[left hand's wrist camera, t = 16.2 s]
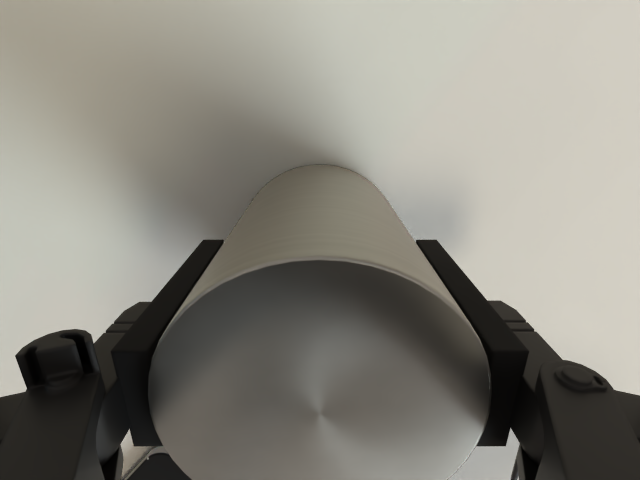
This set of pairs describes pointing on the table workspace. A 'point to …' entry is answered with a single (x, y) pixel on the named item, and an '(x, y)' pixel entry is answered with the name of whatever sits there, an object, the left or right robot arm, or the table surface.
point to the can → (319, 347)
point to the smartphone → (157, 467)
